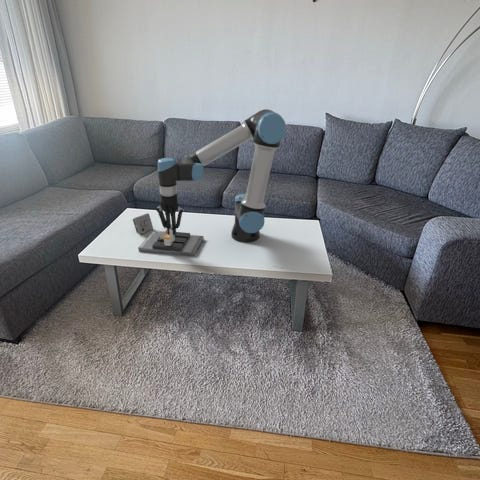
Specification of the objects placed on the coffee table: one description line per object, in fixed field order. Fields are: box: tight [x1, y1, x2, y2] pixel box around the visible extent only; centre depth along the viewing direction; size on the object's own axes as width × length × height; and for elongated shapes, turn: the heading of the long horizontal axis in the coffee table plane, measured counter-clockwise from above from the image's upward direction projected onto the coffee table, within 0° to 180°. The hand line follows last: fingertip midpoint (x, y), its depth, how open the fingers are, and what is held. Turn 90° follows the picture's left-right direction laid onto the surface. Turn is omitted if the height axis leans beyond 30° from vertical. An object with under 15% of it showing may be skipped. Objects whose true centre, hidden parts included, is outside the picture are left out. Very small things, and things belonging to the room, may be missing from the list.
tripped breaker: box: [164, 234, 173, 246], centre depth 159 cm, size 3×3×4 cm
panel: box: [137, 231, 205, 258], centre depth 166 cm, size 28×18×4 cm, turn 81°
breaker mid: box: [158, 227, 168, 239], centre depth 165 cm, size 3×3×4 cm
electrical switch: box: [132, 213, 154, 235], centre depth 179 cm, size 9×5×9 cm, turn 141°
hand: (172, 240), depth 159 cm, fingers closed
